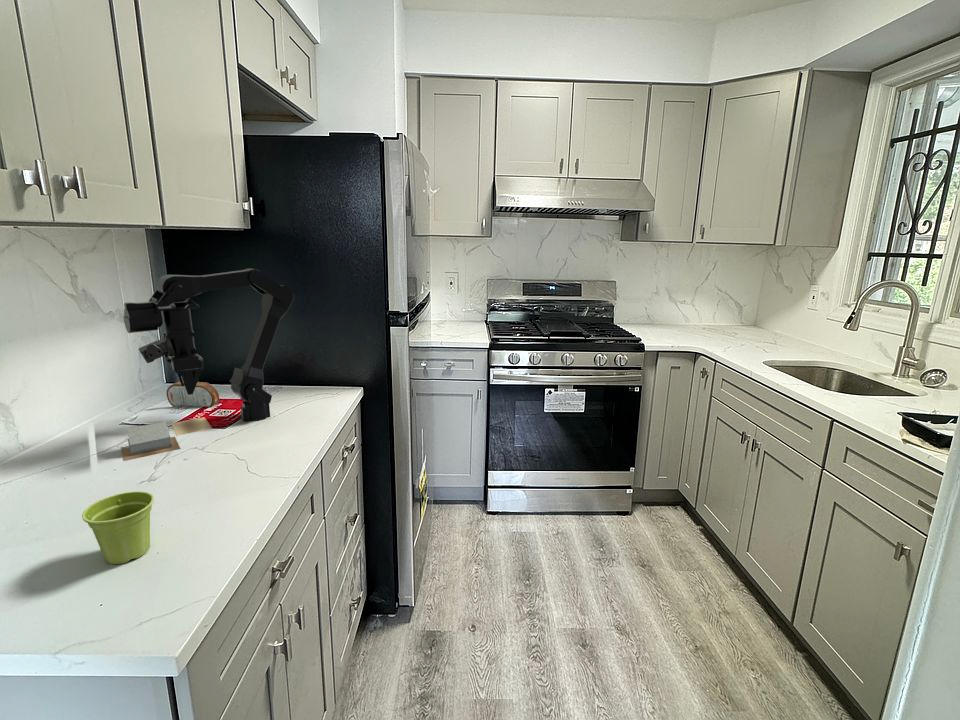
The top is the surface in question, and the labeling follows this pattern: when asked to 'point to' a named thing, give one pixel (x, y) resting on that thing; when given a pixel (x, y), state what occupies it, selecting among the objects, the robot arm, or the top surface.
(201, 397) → the tin
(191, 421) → the oak stand
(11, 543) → the top surface
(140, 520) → the plant pot
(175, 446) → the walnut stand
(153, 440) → the block
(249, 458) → the top surface
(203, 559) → the top surface
